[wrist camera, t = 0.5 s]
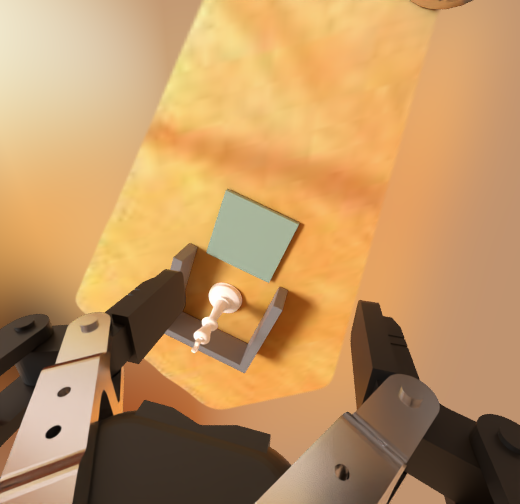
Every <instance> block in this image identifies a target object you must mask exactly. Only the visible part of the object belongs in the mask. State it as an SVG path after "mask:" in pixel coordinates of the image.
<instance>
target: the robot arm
mask: <svg viewBox="0 0 520 504" xmlns="http://www.w3.org/2000/svg"><path fill="white" fill-rule="evenodd" d="M410 1H412V2H414V3H415V4H417V5H418V6H421V7H425V8H429V9H449V8H453V7H457V6H461V5H464V4H466V3H468V2H470V1H472V0H410ZM185 303H186V296H185V286H184V277H183V273H182V272H180V271H174V270H168V269H165V270H163V271H162V272H161V273H160V274H159V275H157V276H156V277H155V278H152V279H149V280H147V281H145V282H143V283H141V284H140V285H139V286H138V287H136V288H135V290H133V291H131V292H130V293H129V294H128V295H126V296H125V297H124V298H122V299H121V300H120V301H119V302H117V303H116V304H115V305H114V306H112V307H111V308H110V309H109V310H107V311H106V312H105V313H103V312H95V313H90V314H86V315H83V316H81V317H79V318H77V319H76V320H74V321H73V322H72V323H71V324H70V325H58V326H52V325H51V323H50V320H49V317H48V316H47V315H43V314H34V315H28V316H25V317H22V318H19V319H17V320H15V321H13V322H11V323H9V324H7V325H6V326H4V327H3V328H1V329H0V376H1V375H2V374H3V373H5V372H6V371H7V370H8V369H10V368H11V367H12V366H14V365H15V366H16V368H17V370H18V372H19V374H20V377H18V378H17V379H16V380H15V381H14V382H12V383H11V384H10V385H9V386H8V387H6V388H5V389H4V390H3V391H2V392H0V447H1V445H3V444H4V443H5V442H6V440H8V439H9V438H10V437H11V436H12V435H13V433H14V432H16V431H17V429H19V431H18V434H17V436H16V439H15V442H14V444H13V447H12V449H11V452H10V455H9V457H8V460H7V462H6V465H5V468H4V470H3V473H2V476H1V477H0V504H390V503H391V502H392V500H393V498H394V496H395V495H396V493H397V492H398V490H399V488H400V487H401V485H402V483H403V482H404V480H405V479H406V477H407V475H408V474H410V475H412V476H413V477H415V478H416V479H418V480H420V481H421V482H423V483H425V484H426V485H428V486H430V487H431V488H433V489H434V490H436V491H438V492H439V493H441V494H443V495H444V497H445V500H446V504H520V425H518V424H517V423H515V422H513V421H511V420H509V419H507V418H505V417H502V416H498V415H493V414H485V415H482V416H480V417H479V419H478V420H477V422H475V421H473V420H471V419H469V418H467V417H465V416H463V415H460V414H458V413H456V412H454V411H451V410H450V409H448V408H446V407H444V406H443V405H441V404H440V403H439V401H438V399H437V397H436V395H435V394H434V393H433V391H432V390H431V389H430V388H429V387H428V386H427V385H426V384H424V383H423V382H421V381H420V380H419V377H418V374H417V371H416V369H415V366H414V363H413V360H412V358H411V355H410V352H409V349H408V348H407V344H406V341H405V340H404V335H403V333H402V330H401V328H400V326H399V325H398V324H397V323H396V322H395V321H394V320H393V319H392V318H390V317H385V316H383V315H382V312H381V308H380V305H379V303H375V302H369V301H362V300H359V301H358V305H357V309H356V313H355V318H354V323H353V326H352V331H351V353H352V363H353V373H354V384H355V393H356V404H357V411H356V412H355V413H354V414H350V413H349V412H346V413H344V414H343V415H342V416H340V417H339V418H338V420H336V421H335V423H334V424H333V425H332V426H331V427H330V428H329V429H328V430H327V431H326V432H325V433H324V434H323V435H322V436H321V437H320V438H319V439H318V440H317V441H316V442H315V443H314V444H313V445H312V446H311V447H310V448H309V449H308V450H307V451H306V452H305V453H304V454H303V455H302V456H301V457H300V458H299V459H298V460H297V461H296V462H295V463H294V464H293V465H292V466H291V464H290V463H289V462H288V461H287V460H286V459H285V458H284V457H283V456H282V455H280V454H279V453H278V452H277V451H275V450H274V449H272V448H271V447H270V434H267V433H263V432H260V431H256V430H252V429H249V428H245V427H241V426H238V425H199V424H197V423H196V422H194V421H193V420H191V419H190V418H188V417H186V416H185V415H183V414H182V413H180V412H179V411H177V410H176V409H174V408H172V407H168V406H165V405H161V404H158V403H154V402H150V401H147V400H144V401H143V403H142V404H141V406H140V407H139V409H138V410H137V411H128V412H123V387H124V368H123V365H124V364H125V363H126V362H127V361H128V362H132V363H137V364H139V363H140V362H141V361H142V359H143V358H144V357H145V356H146V355H147V353H148V352H149V351H150V350H151V349H152V347H153V346H154V345H155V344H156V343H157V341H158V340H159V339H160V338H161V337H162V335H163V334H164V333H165V332H166V331H167V329H168V328H169V327H170V326H171V325H172V323H173V322H174V321H175V320H176V319H177V317H178V316H179V315H180V314H181V313H182V311H183V309H184V307H185Z"/></svg>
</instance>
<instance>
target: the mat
mask: <svg viewBox="0 0 520 504" xmlns="http://www.w3.org/2000/svg"><path fill="white" fill-rule="evenodd" d="M298 225H299V222H297V221H295V220H293V219H291V218H288V217H286V216H284V215H282V214H280V213H278V212H276V211H274V210H271V209H269V208H267V207H265V206H263V205H261V204H259V203H257V202H254V201H252V200H250V199H248V198H246V197H244V196H242V195H240V194H237V193H235V192H233V191H231V190H229V189H227V190H226V192H225V195H224V198H223V201H222V204H221V207H220V211H219V214H218V217H217V220H216V223H215V226H214V230H213V233H212V236H211V239H210V242H209V245H208V249H207V252H206V253H208V254H210V255H212V256H214V257H216V258H218V259H220V260H222V261H224V262H226V263H228V264H230V265H233V266H235V267H237V268H239V269H241V270H243V271H245V272H247V273H249V274H251V275H253V276H255V277H258V278H260V279H262V280H264V281H266V282H268V283H269V282H270V280H271V278H272V276H273V274H274V272H275V270H276V268H277V266H278V264H279V262H280V260H281V258H282V256H283V254H284V252H285V251H286V249H287V247H288V245H289V243H290V241H291V239H292V237H293V235H294V233H295V231H296V229H297V227H298Z"/></svg>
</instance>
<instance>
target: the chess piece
mask: <svg viewBox="0 0 520 504" xmlns="http://www.w3.org/2000/svg"><path fill="white" fill-rule="evenodd" d="M209 301H210V303H211V304H212V306H213V310H212V312H211V314H210V316H209V317H205V318H203V319H202V327H201V328H200V329H198V330H197V331H196V332H195V333H194V339H195V340H196V341H195V345H194V347H193V348H192V351H191V352H193V353H195V352H197V351H198V349H199V345H200V344H207V343H209V341H210V335H211V331H214V330H216V329H217V328H218V323H217V319H218V318H219V317H220V315H221V314H222V313H223V312H224V313H233V312H235V311H237V310H238V309H239V307H240V306H241V304H242V296H241V294H240V292H239V291H238V290H237V289H236V288H235V287H234V286H232V285H230V284H228V283H217V284H215V285H213V286H212V287H211V289H210V291H209Z"/></svg>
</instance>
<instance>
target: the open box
mask: <svg viewBox="0 0 520 504" xmlns="http://www.w3.org/2000/svg"><path fill="white" fill-rule="evenodd" d="M196 251H197V246H194V245H192V244H190V243H189V244H188V245H187V246H186V247H185V248H183V249H182V250H181V251H180V252H179V253H178V254H177V255H176V256H174V257H173V261H172V266H171V270H174V271H180V272H182V273H183V277H184V286H185V289H186V285H187V282H188V278H189V275H190V272H191V268H192V265H193V261H194V258H195V254H196ZM287 292H288V290H286V289H284V288H282V287H279V288H278V290H277V292H276V294H275V296H274V298H273V299H272V301H271V303H270V305H269V307H268V308H267V310H266V312H265V314H264V316H263V318H262V319H261V321H260V323H259V325H258V327H257V328H256V330H255V332H254V334H253V336H252V338H251V339H250V341H249V343H248V344H247V343H245V342H243V341H241V340H239V339H237V338H235V337H233V336H231V335H229V334H227V333H225V332H223V331H221V330H219V329H216V330H214V331H211V335H210V341H209V343H207V344H200V345H199V349H198V350H199V351H201V352H203V353H205V354H207V355H209V356H211V357H213V358H215V359H217V360H219V361H221V362H223V363H225V364H227V365H229V366H231V367H233V368H235V369H237V370H239V371H241V372H243V373H245V372H246V370H247V369H248V367H249V365H250V364H251V362H252V360H253V359H254V357H255V355H256V354H257V352H258V350H259V349H260V347H261V345H262V344H263V342H264V340H265V339H266V337H267V335H268V334H269V332H270V330H271V329H272V327H273V325H274V324H275V322H276V320H277V319H278V317H279V315H280V314H281V312H282V310H283V307H284V303H285V299H286V296H287ZM201 327H202V321H200V320H198V319H196V318H194V317H192V316H190V315H188V314H186V313H184V312H182V313H181V314H180V315H179V316H178V317H177V319H176V320H175V321H174V322H173V323H172V325H171V326H170V327H169V328H168V329H167V331H166V332H165V333H164V334H166V335H168V336H170V337H172V338H174V339H176V340H178V341H180V342H182V343H184V344H186V345H188V346H190V347H192V348H193V347H194V345H195V341H196V340H195V339H194V333H195V332H196V331H197V330H198V329H200V328H201Z"/></svg>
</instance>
